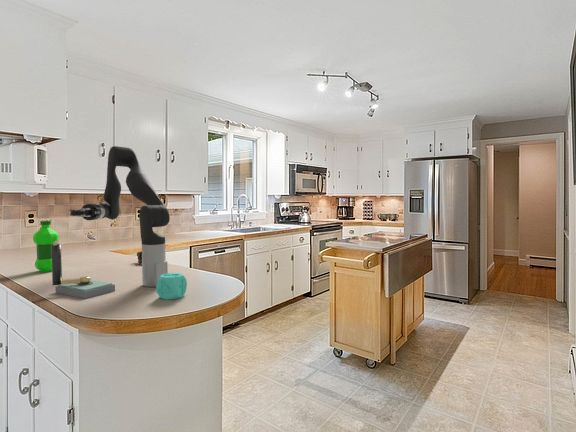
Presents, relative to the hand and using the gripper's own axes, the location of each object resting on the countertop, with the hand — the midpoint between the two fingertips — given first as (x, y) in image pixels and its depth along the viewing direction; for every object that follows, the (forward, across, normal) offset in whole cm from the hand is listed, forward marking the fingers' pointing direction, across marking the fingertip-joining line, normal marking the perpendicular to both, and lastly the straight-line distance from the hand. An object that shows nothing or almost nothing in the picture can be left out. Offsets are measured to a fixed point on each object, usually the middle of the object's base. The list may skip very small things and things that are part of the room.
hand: (74, 213), depth 143 cm
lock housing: (+12, +9, +30) cm, 34 cm away
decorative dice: (+23, +44, +30) cm, 58 cm away
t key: (+14, +5, +26) cm, 30 cm away
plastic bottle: (-31, -29, +30) cm, 52 cm away
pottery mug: (-48, +13, +30) cm, 58 cm away
